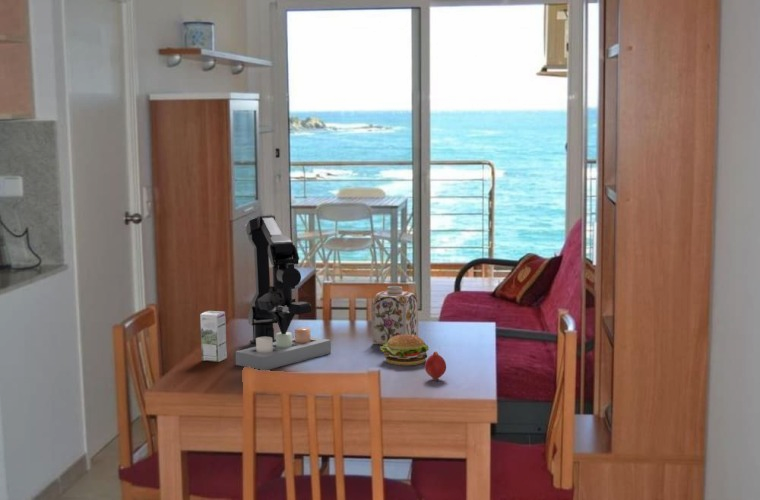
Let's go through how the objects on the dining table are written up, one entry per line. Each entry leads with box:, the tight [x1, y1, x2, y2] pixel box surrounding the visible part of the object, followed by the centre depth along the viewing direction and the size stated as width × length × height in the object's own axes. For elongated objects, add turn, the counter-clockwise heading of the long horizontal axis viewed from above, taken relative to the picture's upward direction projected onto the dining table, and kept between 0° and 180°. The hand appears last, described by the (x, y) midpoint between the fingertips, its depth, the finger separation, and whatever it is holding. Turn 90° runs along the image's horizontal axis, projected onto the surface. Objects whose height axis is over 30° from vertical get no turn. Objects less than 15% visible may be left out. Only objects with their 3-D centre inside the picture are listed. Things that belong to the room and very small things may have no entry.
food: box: [379, 334, 430, 367], centre depth 301 cm, size 14×14×8 cm
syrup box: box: [199, 310, 228, 363], centre depth 307 cm, size 6×6×14 cm
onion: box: [424, 351, 447, 381], centre depth 280 cm, size 6×6×8 cm
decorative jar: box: [371, 285, 419, 346], centre depth 327 cm, size 12×12×18 cm
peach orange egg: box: [294, 327, 312, 344], centre depth 313 cm, size 5×5×6 cm
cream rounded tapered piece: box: [255, 337, 273, 354], centre depth 301 cm, size 5×5×6 cm
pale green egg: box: [275, 331, 293, 349], centre depth 307 cm, size 5×5×6 cm
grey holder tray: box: [235, 336, 332, 371], centre depth 307 cm, size 12×28×4 cm, turn 140°
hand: (283, 333), depth 306 cm, fingers closed, pressing on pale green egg
